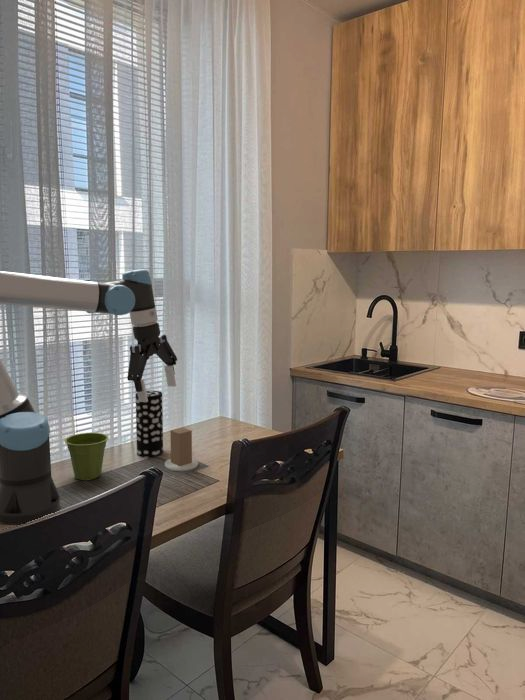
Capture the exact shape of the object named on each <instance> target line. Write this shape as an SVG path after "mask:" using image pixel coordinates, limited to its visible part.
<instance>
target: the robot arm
mask: <svg viewBox="0 0 525 700" xmlns="http://www.w3.org/2000/svg"><path fill="white" fill-rule="evenodd" d="M153 290H154V289H153V283H152V280H151V276H150V272H149V271H148V270H147V269H143V268H142V269H133V270H126V271H124V272H122V275H121V279H119V280H114V281H109V282H97V281H89V280H81V279H72V278H66V277H65V278H64V277H55V276H49V275H39V274H30V273H21V272H11V271H3V270H0V305H9V306H17V307H18V306H19V307H20V306H21V307H30V308H31V307H32V308H43V309H53V310H54V309H55V310H64V311H65V310H67V311H76V312H86V313H87V314H94V313H95V314H96V313H97V314H98V313H100V314H109V315H113V316H126V315H127V314H129V317H130V318H129V319H130V324H131V325H133V326H132V333H133V337H134V340H136V341H137V344H136V345H129V352H130V355H129V356H130V357H129V362H128V363H129V365H128V372H127V381H132V382H133V384H134V388H135V389H134V390H135V392H136V393H137V394H138V399H139V402H148V398H147V393H146V391H147V390H146V382H145V380H144V379H142V378H143V375H144V372H145V369H146V366H147V362H148V360H149V359H150V357H152V356H153V355H156V356H157V357H158V358H159V359H160V360H161V361H162V362H163V363H164V364H165V365H164V373H165V379H166V384H167V387H177V382H176V376H175V375H176V372H175V366H176V365H177V362H178V357H177V356H176V355H177V354H175V352H174V350H173V348H172V347H171V344H170V343H169V341H168V337H167V335H166V334H161V330H160V323H158V322H157V321H158V320H159V319H158V314H157V309H156V303H155V302H156V301H155V297H154V291H153ZM50 435H51V427H50V425H49V420H48V419H47V417H46V416H45V415H44V414H42V413H36V411H35V409H34V407H33V405H32V404H31V402H30V400H29V398H28V396H27V395H26V394H23V393H19V392H18V390H17V388H16V386H15V385H14V382H13V381H12V379H11V376H10V374H9V372H8V371H7V369H6V367H5V365H4V363H3V361H2V360H1V358H0V523H1V524H5V525H23V523H25V524H27V523H26V522H29V521H32V520H35V519H38V518H41V517H43V516H45V515H48V514H51V513H54V512H56V511H57V512H58V511H59V510H60V508H61V497H60V494H59V492H58V488H57V487H56V484H55V482H54V480H53V476H52V465H51V464H52V462H51V445H50ZM57 512H56V513H57ZM54 514H55V513H54Z"/></svg>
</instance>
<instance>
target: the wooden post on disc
mask: <svg viewBox="0 0 525 700" xmlns="http://www.w3.org/2000/svg"><path fill="white" fill-rule="evenodd" d="M169 431H170V458H169V459H167V460H165V461H164V462H165V468H166V469H167V470H169V471H174V472H185V471H190V470H193V469H195V468H197V467H198V461H199V460H198V459H196V458H194V457H193V446H192V445H193V441H192V440H193V439H192V438H193V436H192V435H193V432H192V430H191V429H188V428H186V427H178V428H174V429H171V430H169Z"/></svg>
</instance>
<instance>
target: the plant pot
mask: <svg viewBox="0 0 525 700" xmlns="http://www.w3.org/2000/svg"><path fill="white" fill-rule="evenodd" d="M108 440H109V436H108V435H107V434H105V433H101V432H83V433H76V434H73V435H69V436H67V437H66V438H65V439H64V443H65V444H66V445H67V450H68V451H69V452H68V453H69V456H70V460H71V461H70V462H71V465H72V470H73V471H72V472H73V476H74V478H75V479H76V480H80V481H91V480H94V479H96V478H99V477H101V475H102V469H103V463H104V456H105V455H104V454H105V448H106V445H107V441H108Z"/></svg>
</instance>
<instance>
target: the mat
mask: <svg viewBox="0 0 525 700" xmlns="http://www.w3.org/2000/svg"><path fill="white" fill-rule="evenodd" d="M165 462H166V461H163V462H159V463H156V464H153V466H154V467H156V468H158V469H160V470H162V471H164V472H166V473H168V474H170V475H172V476H174V477H176V478H177V477H179V476H183V475H186V474H189V473H193V472H195V471H198V470H202V469H203V470H204V469H206V468H209V467H210V465H207V464H205V463H203V462H201V461H199V460H198V467H197V468H195V469H193V470H190V471H185V472H174V471H169V470H167V469H166V468H165Z"/></svg>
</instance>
